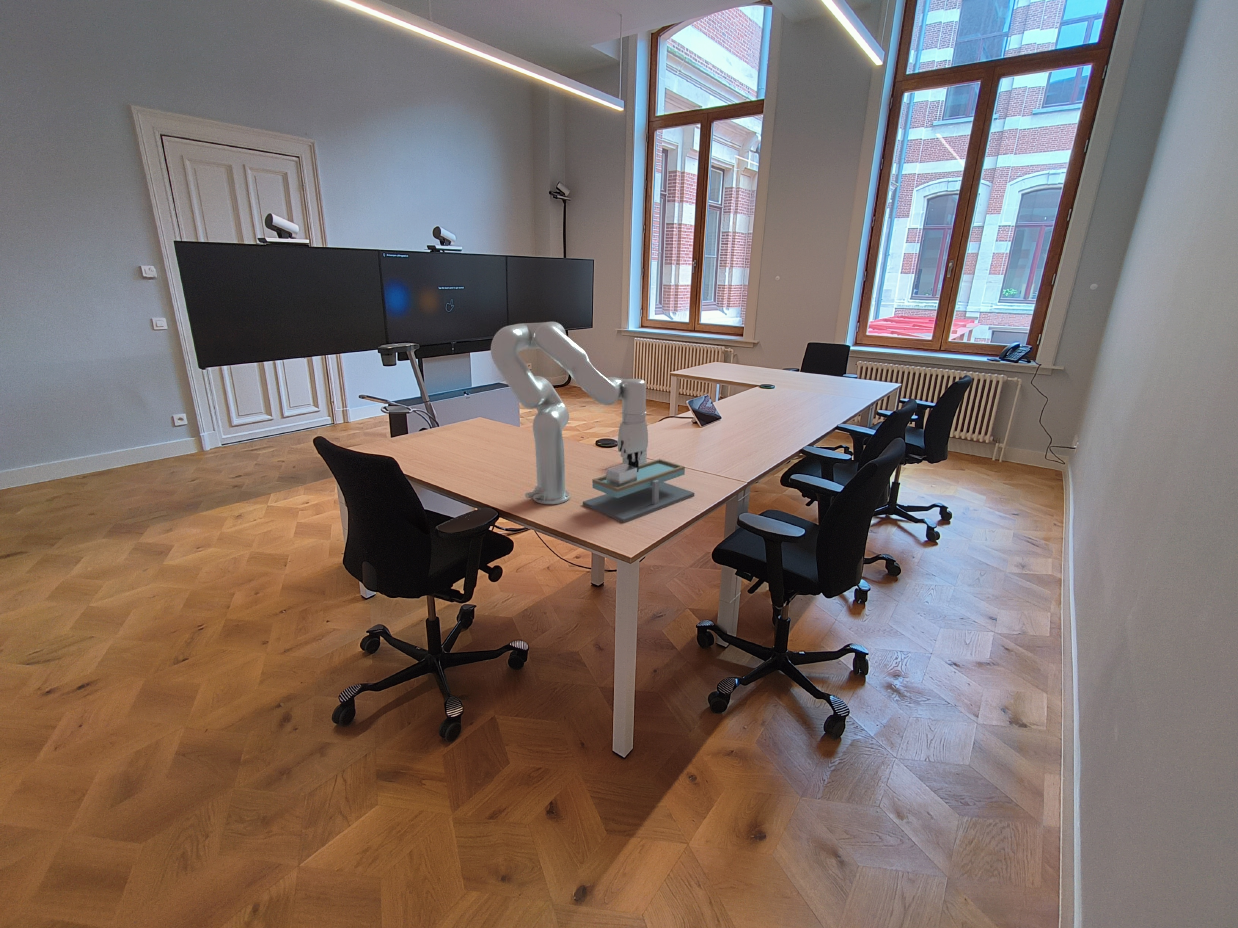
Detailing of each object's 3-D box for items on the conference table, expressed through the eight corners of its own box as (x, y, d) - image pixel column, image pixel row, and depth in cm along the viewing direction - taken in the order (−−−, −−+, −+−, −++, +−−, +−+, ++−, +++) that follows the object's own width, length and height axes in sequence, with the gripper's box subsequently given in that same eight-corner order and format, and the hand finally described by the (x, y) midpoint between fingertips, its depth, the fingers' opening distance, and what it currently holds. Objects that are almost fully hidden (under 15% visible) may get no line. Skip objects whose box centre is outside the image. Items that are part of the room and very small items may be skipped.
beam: (617, 497, 175) (617, 489, 174) (592, 488, 183) (592, 479, 182) (684, 474, 196) (684, 466, 195) (659, 466, 204) (659, 458, 203)
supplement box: (632, 459, 235) (633, 430, 231) (647, 463, 231) (647, 433, 227) (621, 464, 230) (622, 434, 226) (636, 467, 225) (636, 437, 221)
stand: (623, 522, 174) (624, 495, 171) (582, 504, 188) (582, 479, 185) (694, 495, 196) (695, 471, 193) (652, 481, 210) (653, 458, 207)
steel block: (619, 488, 177) (619, 473, 176) (606, 483, 182) (606, 469, 180) (636, 482, 183) (637, 467, 181) (624, 477, 187) (624, 463, 185)
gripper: (641, 412, 188) (641, 464, 193) (608, 419, 178) (609, 474, 184) (658, 416, 183) (657, 469, 188) (625, 423, 173) (625, 479, 179)
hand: (633, 471), depth 186 cm, fingers closed
